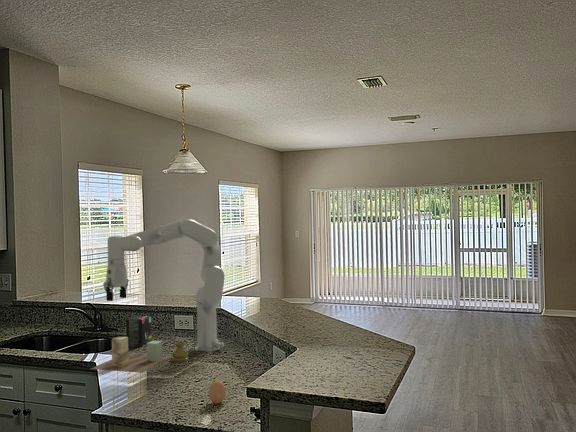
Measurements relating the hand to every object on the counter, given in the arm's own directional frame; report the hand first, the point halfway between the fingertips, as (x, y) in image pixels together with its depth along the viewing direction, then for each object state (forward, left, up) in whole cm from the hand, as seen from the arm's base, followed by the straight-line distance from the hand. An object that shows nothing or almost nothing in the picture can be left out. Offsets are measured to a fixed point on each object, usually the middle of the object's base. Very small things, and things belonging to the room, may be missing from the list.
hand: (116, 299), depth 249 cm
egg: (-70, +42, -29) cm, 87 cm away
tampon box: (+7, -29, -29) cm, 42 cm away
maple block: (-9, +11, -27) cm, 31 cm away
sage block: (-19, -1, -27) cm, 33 cm away
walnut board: (-12, +5, -29) cm, 31 cm away
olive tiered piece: (-31, -3, -29) cm, 42 cm away
